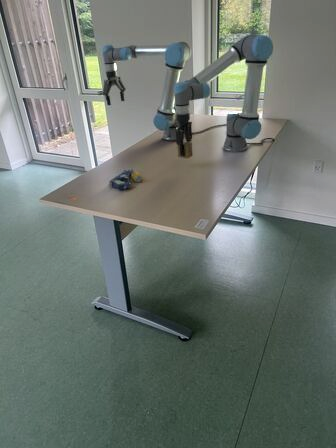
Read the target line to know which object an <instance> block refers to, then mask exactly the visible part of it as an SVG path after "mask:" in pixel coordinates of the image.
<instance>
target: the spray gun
mask: <svg viewBox="0 0 336 448" xmlns="http://www.w3.org/2000/svg"><path fill="white" fill-rule="evenodd" d="M131 179H132V180H133V181H135V183H141V182H142V180H143V175H141V174H140V173H139V172H137V171H134V169H133V168H130V169H123V171H121V172H120V173H119V174H117V175H116V176H115V177H113V178H112V179H110V180H109V181H108V186H109V187H111V188H116V189H117V190H120V191H121V190H126V189H128V188H129V187H131V185H132V184H131V182H130V180H131Z"/></svg>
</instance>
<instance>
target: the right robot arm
mask: <svg viewBox="0 0 336 448" xmlns="http://www.w3.org/2000/svg"><path fill="white" fill-rule="evenodd" d="M273 52H274V44H273V40H272V39H271V38H270V36H267V35H263V34H248V35H245V36H243V37H241V38H240V39H239V40H237V41H236V42H234V44H231V46H230V47H229V48H228V50H226V51H225V52H224V53H223V54H222V55H220V56H219V57H218V58H217V59H215V60H214V61H213V62H211V63H210V64H208V66H206V67H205V68H203V69H202V70H201V71H200V72H198V73H197V74H195V75H194V76H193V77H191V78H190V79H187V80H184V81H178V83H176V84H175V85H174V95H175V101H174V106H176V113H177V114H176V120H177V121H178V127H175V131H176V141H175V143H176V146H177V145H179V149H180V156H185V151H184V145H183V141H187V142H192V140H193V134H192V133H193V129H192V127H193V122H192V121H190V120H191V113H190V111H191V109H190V101H197V100H202V99H207V98H209V97H210V95H211V87H210V84H209V83H210V82H212V81H213V80H214V79H216V78H217V77H218V76H220V75H221V74H222V73H224V72H225V71H227V70H228V69H229V68H230V67H232V66H233V65H234V64H239V63H241V61H244V60H245V61H244V64H245V65H246V67H247V68H246V74H245V75H246V76H245V84H244V92H243V102H242V109H241V110H238V111H237V110H236V111H232V112H228V113H227V114H226V118H225V119H226V124H227V125H226V131H225V133H226V136H225V140H224V142H223V150H224V151H226V152H231V153H238V152H243V151H246V150H247V149H248V145H262V144H263V142H264V141H266V140H272V141H275V139H274V138H273V137H266V138H262V139H261V140H260V142H247V140H254V139H256V138H257V137H258V136H259V135H260V133H261V132H262V124H261V121H260V114H259V113H258V110H259V109H258V108H259V101H260V95H261V87H262V82H263V81H262V80H263V73H264V67H265V66H267V65H268V60H269V59H270V57H272V55H273ZM184 138H185V139H184Z"/></svg>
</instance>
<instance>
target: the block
mask: <svg viewBox="0 0 336 448" xmlns="http://www.w3.org/2000/svg"><path fill="white" fill-rule="evenodd" d="M183 145H184V151H185V156H180V149H179V145H177V144H176V146H177V147H176V148H177V157H178V158H181V159H190V158H191V157H192V156H193V142H192V141H190V142H187V141H186V140H183Z"/></svg>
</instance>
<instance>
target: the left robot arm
mask: <svg viewBox="0 0 336 448" xmlns="http://www.w3.org/2000/svg"><path fill="white" fill-rule="evenodd" d="M101 50H102V57H103V63H104V69H105V70H104V71H105V75H106V78H107V79H103V89H102V96H105V101H106V104H107V105H106V106H112V103H111V96H110V91H111V89H112V87H113V86H116V87H117V88H118V90H119V95H120V102H125V91H126V88H127V87H126V86H125V84H124V83H123V81H122V78H121V76H118V71H117V64H116V62H119V61H120V62H121V61H122V62H123V61H124V62H126V61H130V60H131V59H164V61H165V68H166V71H165V78H164V84H163V89H162V90H163V91H162V95H161V101H160V105H159V106H158V107H157V110H156V114H155V115H154V117H153V118H152V119H153V120H152V123H153V126H154V127H155V128H156V129H157V130H158V131H163V135H162V139H163V140H164V141H167V142H176V131H175V127H178V121H177V120H176V114H177V113H176V106H175V95H174V85H175V84H176V83H179V82H180V81H179V80H180V76H181V72H182V71H183V70H184V68H185V63H186V62H187V61H189V59H190V58H191V56H192V48H191V45H189V43H187V42H185V41H179V42H173V43H172V42H171V44H157V45H152V44H151V45H132V44H131V45H128V46H123V47H114V45H113V44H105V45H102V47H101ZM222 126H223V127H225V126H227V123H224V124H223V123H222V124H218V125H213V126H210V127H207V128H204V129H202V130H200V131H194V132H192V135H194V134H195V135H196V134H199V133H200V134H201V133H202V132H205V131H207V130H210V129H212V128H217V127H222Z"/></svg>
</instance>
